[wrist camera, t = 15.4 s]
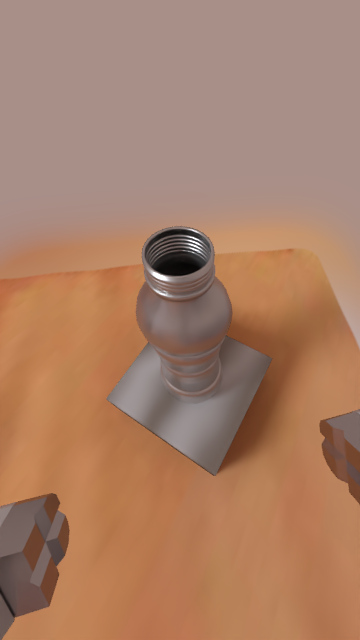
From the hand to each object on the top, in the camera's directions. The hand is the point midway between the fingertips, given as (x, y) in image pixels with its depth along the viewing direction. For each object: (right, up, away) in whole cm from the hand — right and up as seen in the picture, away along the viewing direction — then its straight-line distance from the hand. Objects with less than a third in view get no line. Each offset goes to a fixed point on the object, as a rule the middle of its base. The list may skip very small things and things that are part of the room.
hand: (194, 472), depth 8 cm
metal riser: (+1, -5, +27) cm, 28 cm away
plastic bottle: (+1, -2, +22) cm, 23 cm away
